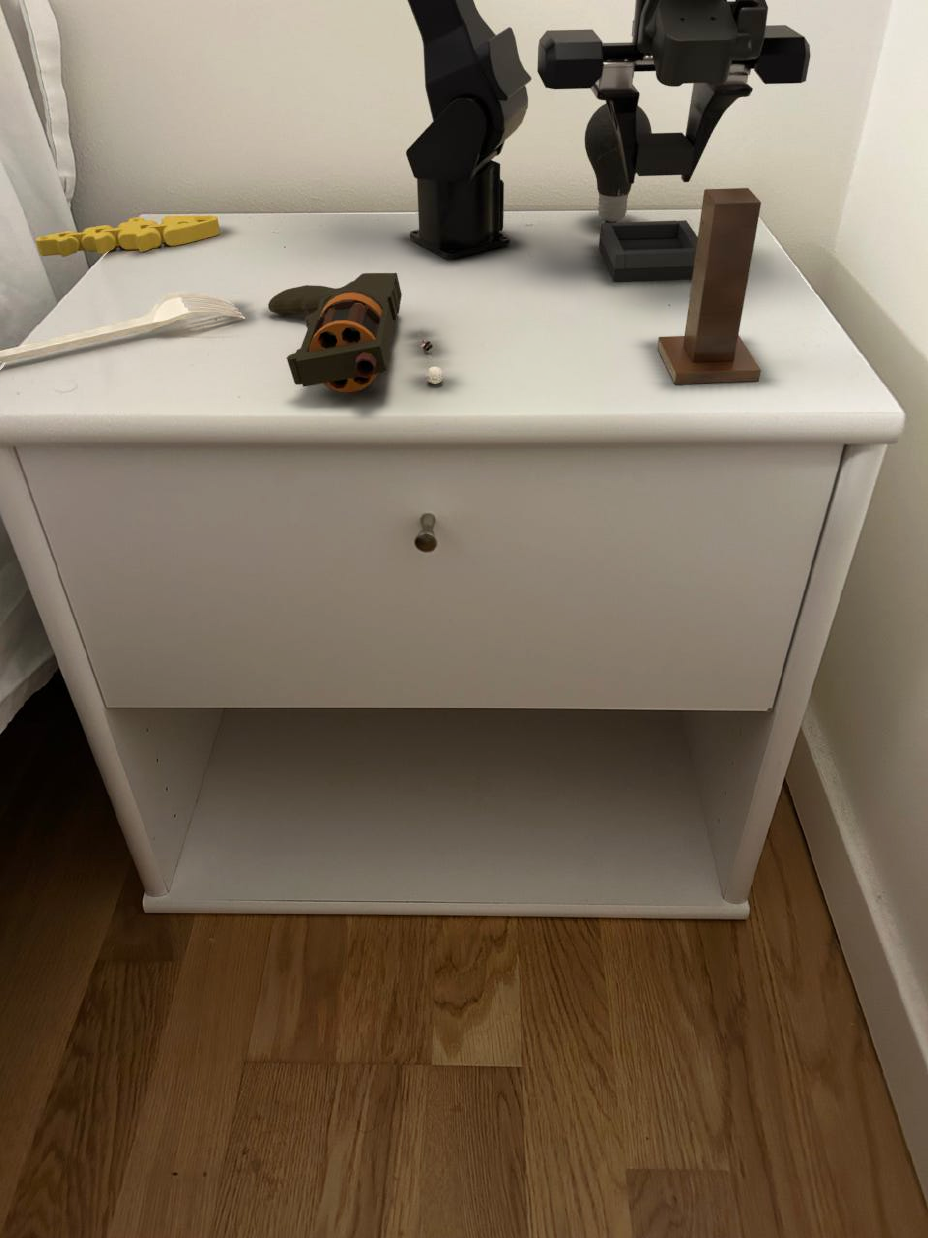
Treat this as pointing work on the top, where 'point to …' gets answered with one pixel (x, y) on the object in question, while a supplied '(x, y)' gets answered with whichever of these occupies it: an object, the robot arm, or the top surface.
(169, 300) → the fork
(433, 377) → the figurine set
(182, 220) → the toy
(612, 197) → the light bulb
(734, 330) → the stand
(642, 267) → the base pad
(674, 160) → the black block
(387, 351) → the toy gun
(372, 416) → the top surface
